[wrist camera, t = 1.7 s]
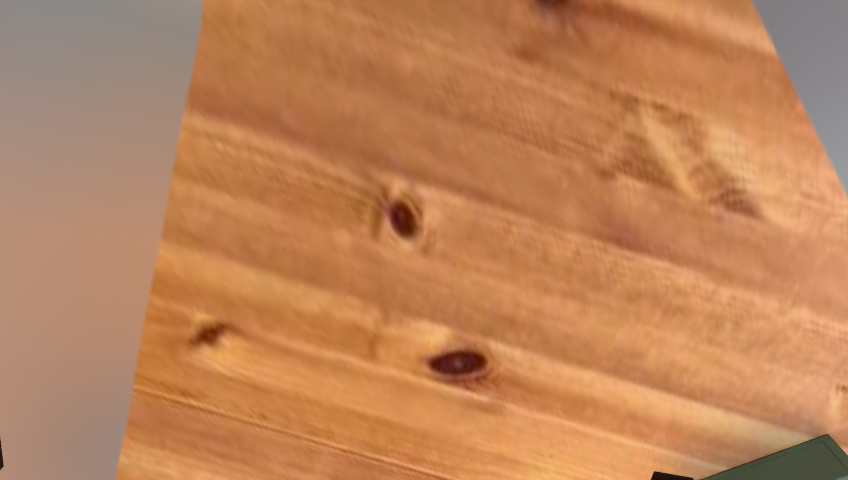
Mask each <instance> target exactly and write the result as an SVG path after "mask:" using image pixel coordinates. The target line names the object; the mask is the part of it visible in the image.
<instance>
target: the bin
mask: <svg viewBox="0 0 848 480" xmlns="http://www.w3.org/2000/svg"><path fill="white" fill-rule="evenodd" d="M703 480H848V455H847V454H846V453H845V452H844V451H843V450H842V449H841V448H840V447H839V446H838V444H837V443H836V442H835V441H834V440H833V439H832V438H831V437H830V436H829V435H825V436H822V437H820V438H817V439H814V440H811V441H808V442H806V443H803V444H800V445H797V446H795V447H792V448H789V449H786V450H784V451H781V452H778V453H775V454H772V455H770V456H767V457H764V458H761V459H759V460H756V461H753V462H750V463H747V464H745V465H742V466H739V467H736V468H734V469H731V470H728V471H725V472H723V473H720V474H717V475H714V476H711V477H709V478H706V479H703Z"/></svg>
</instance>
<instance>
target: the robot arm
mask: <svg viewBox="0 0 848 480" xmlns="http://www.w3.org/2000/svg"><path fill="white" fill-rule="evenodd" d="M3 466H4V465H3V457H2V449H1V441H0V470H1V468H3ZM651 480H693V478H690V477H684V476H679V475H673V474H667V473H661V472H656V471H654V473H653V476H652V478H651Z"/></svg>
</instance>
